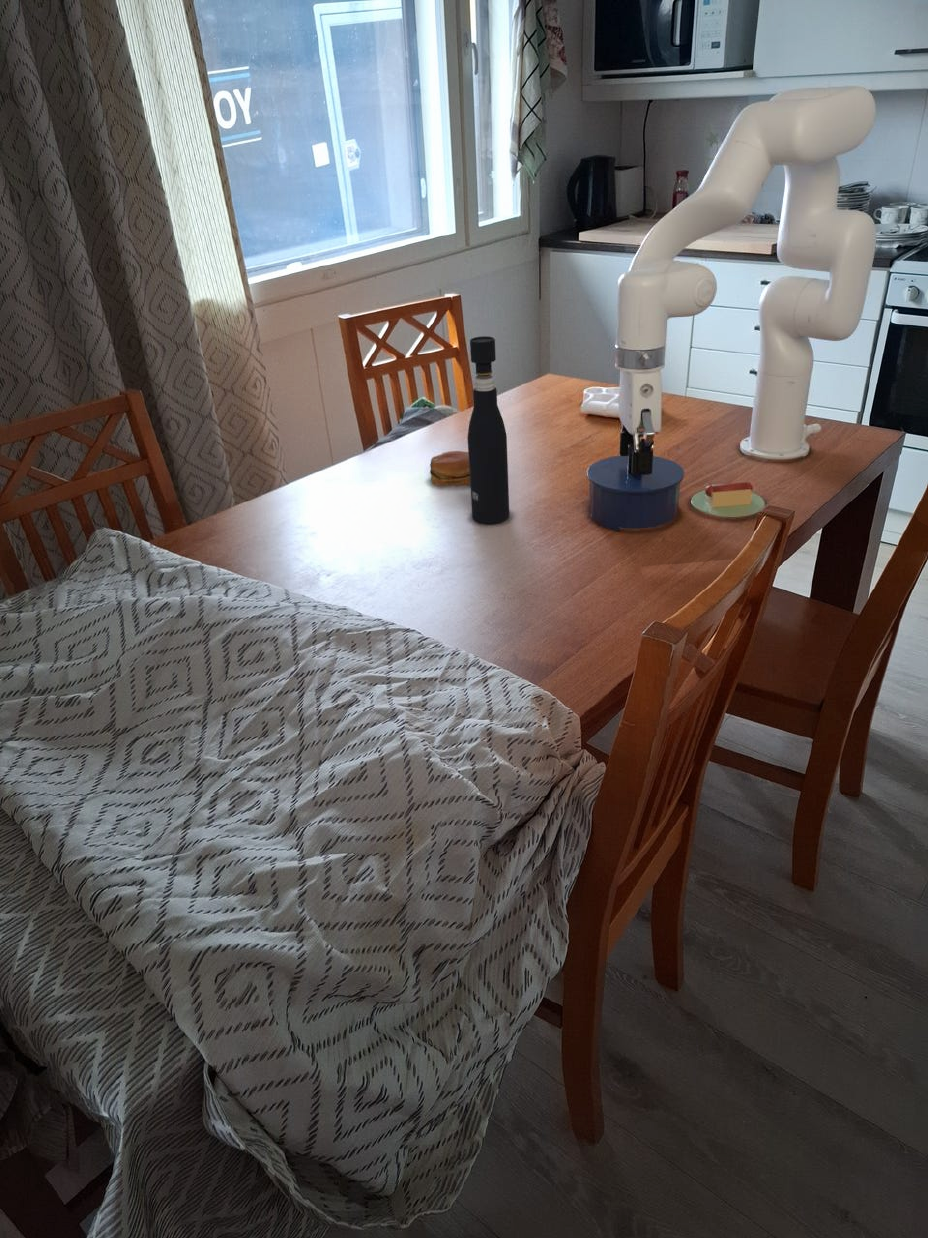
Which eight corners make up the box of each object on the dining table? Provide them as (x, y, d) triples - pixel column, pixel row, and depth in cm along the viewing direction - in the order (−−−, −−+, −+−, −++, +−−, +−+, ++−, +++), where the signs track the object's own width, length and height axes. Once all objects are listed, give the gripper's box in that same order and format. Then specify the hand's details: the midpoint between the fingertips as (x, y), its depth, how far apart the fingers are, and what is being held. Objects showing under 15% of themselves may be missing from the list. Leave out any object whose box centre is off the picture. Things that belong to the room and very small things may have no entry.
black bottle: (514, 510, 149) (508, 334, 134) (503, 526, 144) (496, 344, 128) (479, 507, 151) (469, 333, 136) (467, 523, 146) (455, 343, 130)
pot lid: (645, 454, 151) (647, 423, 148) (704, 482, 139) (707, 449, 136) (568, 473, 146) (568, 441, 143) (622, 505, 133) (623, 471, 130)
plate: (731, 486, 152) (731, 482, 152) (780, 509, 143) (780, 505, 143) (676, 501, 148) (676, 497, 148) (722, 526, 139) (723, 522, 139)
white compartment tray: (567, 414, 191) (595, 396, 202) (642, 425, 183) (668, 405, 193) (567, 400, 190) (595, 381, 200) (643, 409, 181) (669, 390, 191)
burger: (487, 483, 160) (485, 459, 158) (439, 492, 158) (437, 468, 156) (469, 466, 169) (468, 443, 166) (424, 474, 166) (422, 451, 164)
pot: (643, 489, 154) (645, 452, 150) (695, 518, 142) (698, 479, 138) (573, 508, 149) (573, 470, 145) (621, 539, 137) (623, 499, 134)
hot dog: (747, 495, 147) (749, 478, 145) (754, 503, 144) (756, 486, 142) (701, 499, 147) (702, 481, 145) (707, 507, 144) (709, 490, 142)
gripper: (680, 370, 124) (672, 482, 133) (650, 341, 139) (645, 444, 148) (628, 374, 124) (624, 486, 133) (604, 344, 139) (602, 448, 148)
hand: (635, 463), depth 141 cm, fingers open, 8 cm apart
